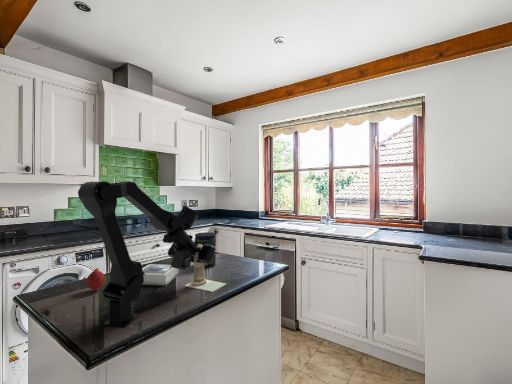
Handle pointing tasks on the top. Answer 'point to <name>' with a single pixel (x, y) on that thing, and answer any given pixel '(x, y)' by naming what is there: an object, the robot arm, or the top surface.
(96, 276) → the onion
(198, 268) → the beech pawn
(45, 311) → the top surface
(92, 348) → the top surface
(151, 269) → the dome button
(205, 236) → the dark blue cylinder
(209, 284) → the game track
